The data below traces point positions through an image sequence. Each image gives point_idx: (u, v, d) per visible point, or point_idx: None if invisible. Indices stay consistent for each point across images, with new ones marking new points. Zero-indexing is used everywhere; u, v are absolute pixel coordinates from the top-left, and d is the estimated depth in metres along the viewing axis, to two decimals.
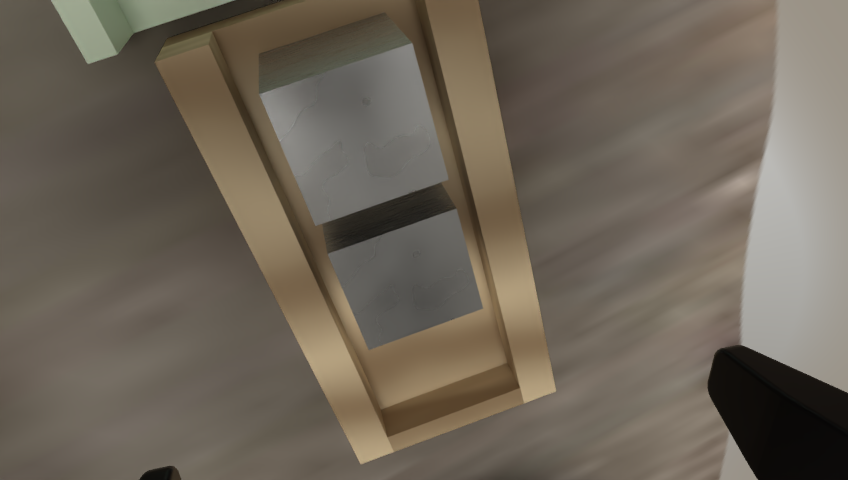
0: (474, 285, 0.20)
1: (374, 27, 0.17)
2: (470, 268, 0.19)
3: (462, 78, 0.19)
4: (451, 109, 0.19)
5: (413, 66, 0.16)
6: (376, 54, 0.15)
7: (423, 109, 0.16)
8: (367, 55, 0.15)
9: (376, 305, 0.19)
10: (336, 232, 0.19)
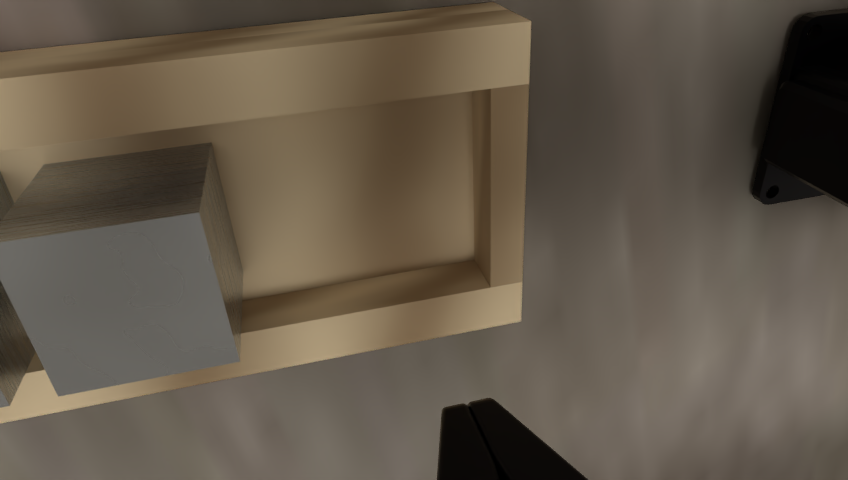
0: (146, 223, 0.12)
1: None
2: (109, 228, 0.12)
3: None
4: None
5: None
6: None
7: None
8: None
9: (159, 350, 0.14)
10: None
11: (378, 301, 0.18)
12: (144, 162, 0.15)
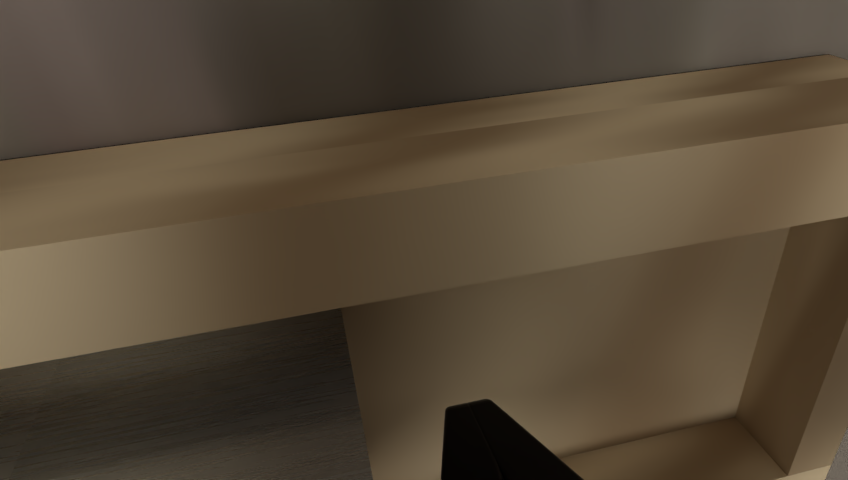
0: None
1: None
2: None
3: None
4: None
5: None
6: None
7: None
8: None
9: None
10: None
11: None
12: (238, 349, 0.09)
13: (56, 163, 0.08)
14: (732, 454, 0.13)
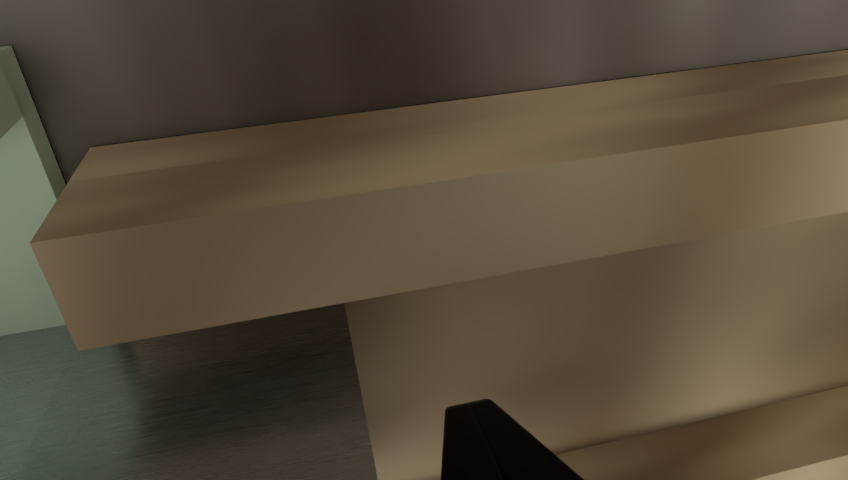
0: None
1: None
2: None
3: (340, 266, 0.08)
4: (409, 287, 0.08)
5: None
6: None
7: None
8: None
9: None
10: None
11: None
12: (243, 347, 0.09)
13: (456, 108, 0.09)
14: None
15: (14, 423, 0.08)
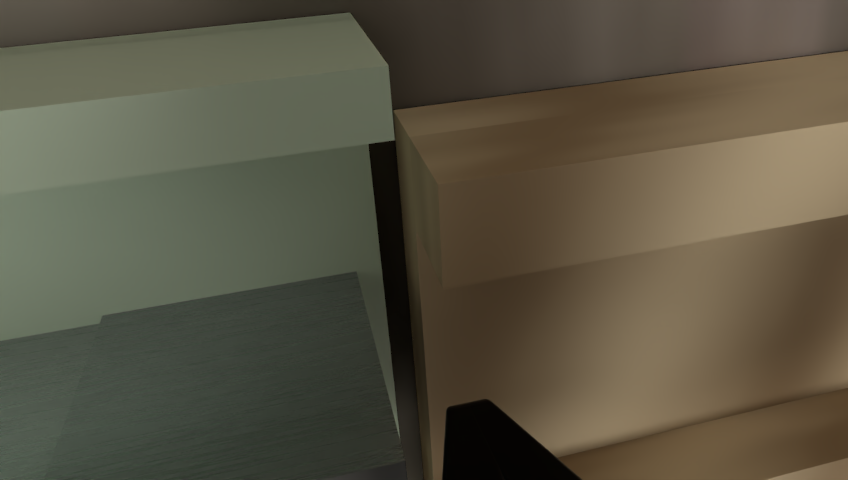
0: None
1: None
2: None
3: (671, 213, 0.08)
4: (717, 234, 0.09)
5: None
6: None
7: None
8: None
9: None
10: None
11: None
12: (264, 316, 0.09)
13: (716, 75, 0.10)
14: None
15: (41, 425, 0.08)
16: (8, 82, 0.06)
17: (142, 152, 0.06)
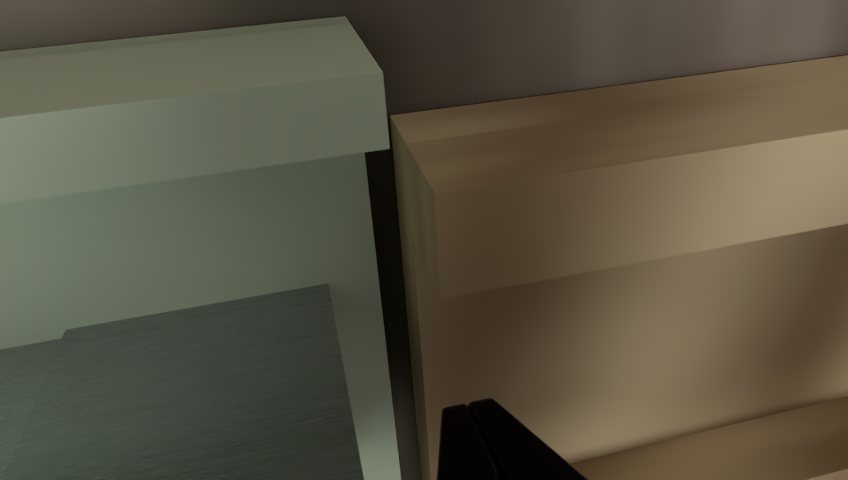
0: None
1: None
2: None
3: (673, 221, 0.08)
4: (720, 243, 0.09)
5: None
6: None
7: None
8: None
9: None
10: None
11: None
12: (231, 331, 0.09)
13: (720, 80, 0.10)
14: None
15: None
16: None
17: (129, 162, 0.06)
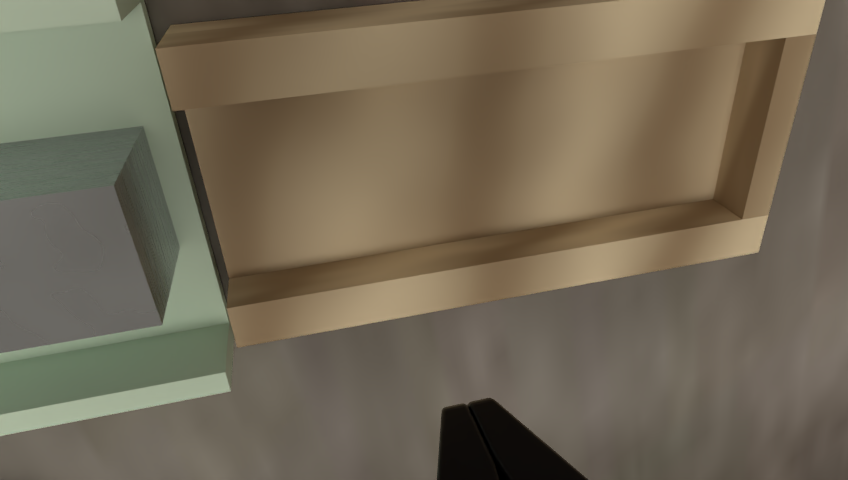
0: (66, 195, 0.14)
1: None
2: (31, 199, 0.14)
3: (300, 73, 0.15)
4: (337, 90, 0.16)
5: None
6: None
7: None
8: None
9: (85, 313, 0.15)
10: None
11: (647, 230, 0.21)
12: (78, 143, 0.16)
13: (370, 8, 0.17)
14: (710, 212, 0.21)
15: None
16: None
17: None
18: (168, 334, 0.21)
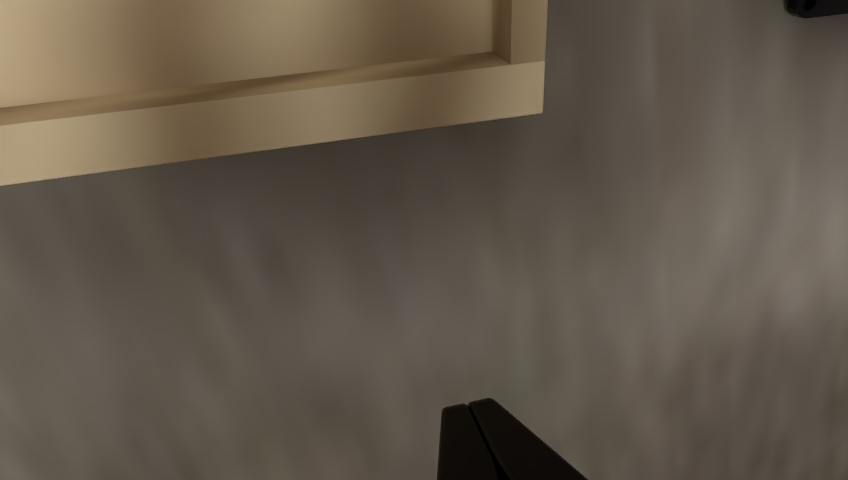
0: None
1: None
2: None
3: None
4: None
5: None
6: None
7: None
8: None
9: None
10: None
11: (389, 76, 0.17)
12: None
13: None
14: (478, 61, 0.17)
15: None
16: None
17: None
18: None
